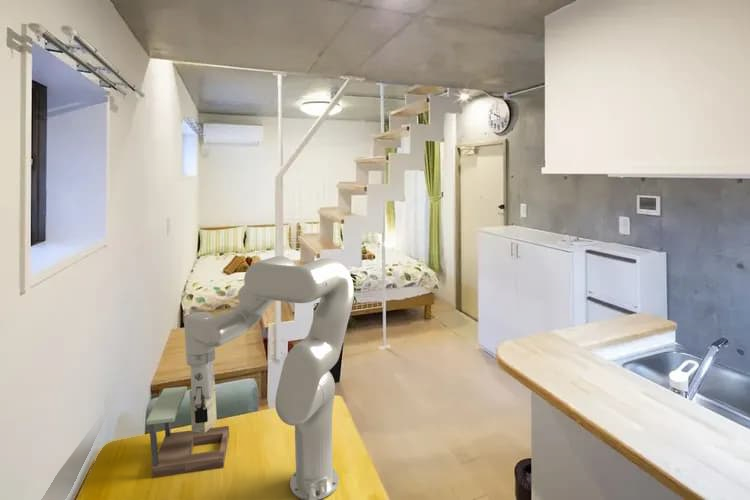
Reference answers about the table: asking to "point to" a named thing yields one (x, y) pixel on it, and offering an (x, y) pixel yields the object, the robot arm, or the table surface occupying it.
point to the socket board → (182, 440)
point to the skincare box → (210, 410)
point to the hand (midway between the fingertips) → (203, 414)
